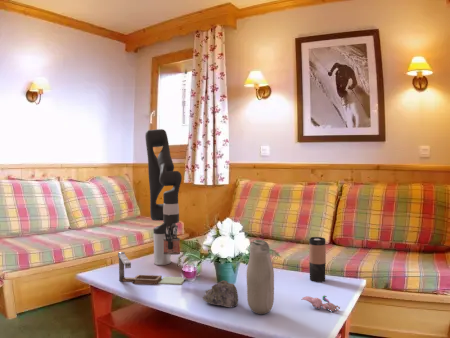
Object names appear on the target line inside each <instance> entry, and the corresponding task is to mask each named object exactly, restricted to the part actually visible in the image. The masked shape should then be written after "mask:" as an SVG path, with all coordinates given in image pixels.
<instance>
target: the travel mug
mask: <svg viewBox="0 0 450 338" xmlns="http://www.w3.org/2000/svg"><path fill="white" fill-rule="evenodd" d="M308 241H309V245H308V247H309V252H308V253H309V256H308V257H309V260H308V261H309V263H308V264H309V267H308V268H309V280H310V281H311V282H313V283H323V282H322V281H324V282H325V281H326V268H327V267H326V264H327V261H326V260H327V259H326V258H327V257H326V256H327V255H326V253H327V252H326V251H327V250H326V249H327V248H326V238H325V237H322V236H321V237H320V236H313V237H310V238H309V239H308Z"/></svg>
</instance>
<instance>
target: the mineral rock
mask: <svg viewBox="0 0 450 338" xmlns="http://www.w3.org/2000/svg"><path fill="white" fill-rule="evenodd" d="M204 293H205V294H204V295H203V297H202V299H203V301H205V302H206V303H208V304H211V305H216V306H222V307H227V308H235V306H238V303H239V296H238V295H239V294H238V290H237V287H236V285H235V284H234V283H231V282H230V283H229V282H228V281H227V280H221V281H219V282H217V283H214V284H213V285H212V286H211V288H210V289H206V290H205V292H204Z"/></svg>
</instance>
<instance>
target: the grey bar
mask: <svg viewBox="0 0 450 338" xmlns="http://www.w3.org/2000/svg"><path fill="white" fill-rule="evenodd" d="M117 257H118V258H119V257H120V259H121V260H122V262H123V263H124V270H125V269H131V268H132V267H131V266H132V263H131V261H130V259H129V258H128V256H127V255H126V254H125V251H119V252H117Z"/></svg>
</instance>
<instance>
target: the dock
mask: <svg viewBox="0 0 450 338" xmlns="http://www.w3.org/2000/svg"><path fill="white" fill-rule="evenodd" d="M118 275H119V276H118V277H119V278H118V281H119V282H128V283H129V282H132V284H138V285H139V284H141V285H142V284H143V285H159V281H161V280H162V279H163V277H162V275H155V274H154V275H153V274H137V275H136V276H135V277H128V276H125V265H124V263H123V262H122V260H121V259H120V257H118Z"/></svg>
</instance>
